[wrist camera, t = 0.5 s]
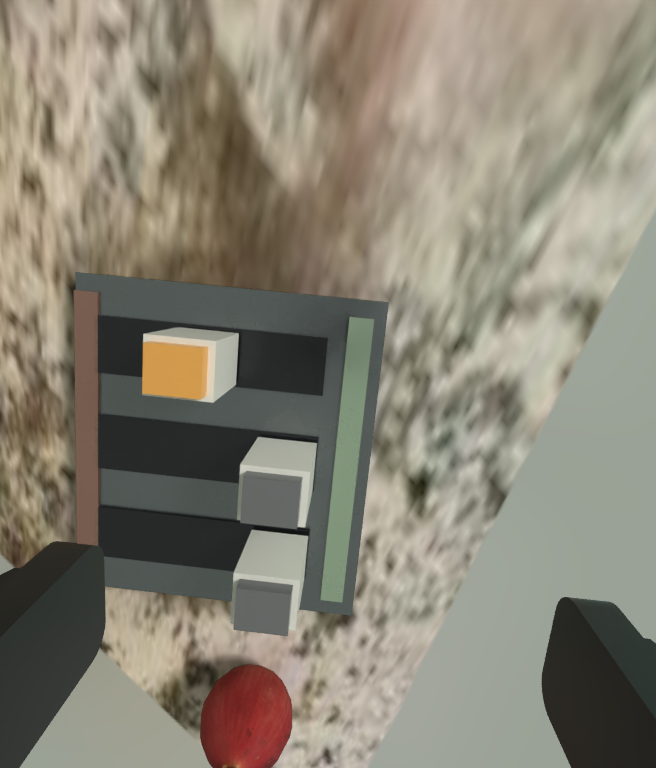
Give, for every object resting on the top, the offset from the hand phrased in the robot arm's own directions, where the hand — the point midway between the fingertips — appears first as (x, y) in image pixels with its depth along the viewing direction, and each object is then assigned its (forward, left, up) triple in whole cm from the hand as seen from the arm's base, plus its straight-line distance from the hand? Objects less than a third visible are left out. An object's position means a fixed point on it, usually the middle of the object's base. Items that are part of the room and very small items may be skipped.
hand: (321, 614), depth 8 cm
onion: (+22, -4, -22) cm, 31 cm away
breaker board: (+5, -7, -21) cm, 23 cm away
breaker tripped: (-1, -8, -19) cm, 21 cm away
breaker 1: (+5, -3, -19) cm, 20 cm away
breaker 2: (+11, -3, -19) cm, 22 cm away
